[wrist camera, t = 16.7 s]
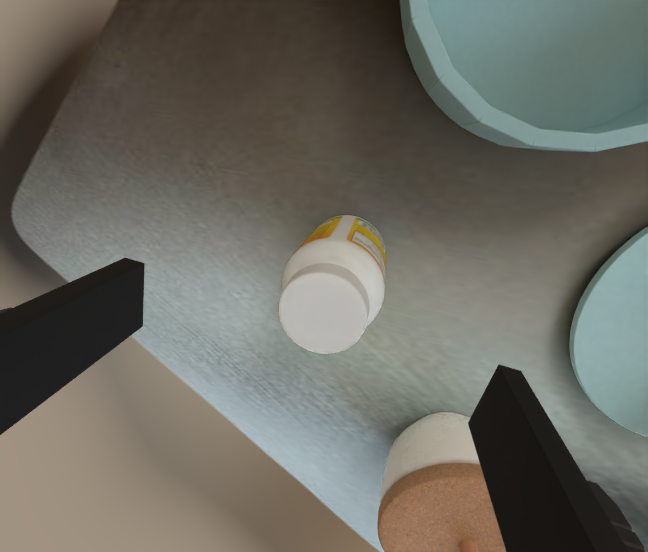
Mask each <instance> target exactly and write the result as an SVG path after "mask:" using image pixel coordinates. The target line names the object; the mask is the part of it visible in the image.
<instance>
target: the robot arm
mask: <svg viewBox="0 0 648 552" xmlns="http://www.w3.org/2000/svg"><path fill="white" fill-rule="evenodd" d="M143 296H144V263H142V262H138V261H135V260H131V259H128V258H124V259H121V260H119V261H117V262H115V263H112V264H110V265H108V266H106V267H103V268H101V269H99V270H97V271H94V272H92V273H90V274H88V275H86V276H83V277H81V278H79V279H77V280H74V281H72V282H70V283H68V284H66V285H63V286H61V287H59V288H57V289H54V290H52V291H50V292H48V293H45V294H43V295H41V296H39V297H37V298H34V299H32V300H30V301H28V302H25V303H23V304H21V305H19V306H16V307H15V308H7V309H3V310H0V435H1V434H2V433H4V432H5V431H6V430H7V429H9V428H10V427H11V426H13V425H14V424H15V423H17V422H18V421H19V420H21V419H22V418H23V417H24V416H26V415H27V414H28V413H30V412H31V411H32V410H34V409H35V408H36V407H37V406H39V405H40V404H41V403H43V402H44V401H45V400H47V399H48V398H49V397H51V396H52V395H53V394H55V393H56V392H57V391H59V390H60V389H61V388H62V387H64V386H65V385H66V384H68V383H69V382H70V381H72V380H73V379H74V378H76V377H77V376H78V375H79V374H81V373H82V372H83V371H85V370H86V369H87V368H89V367H90V366H91V365H92V364H94V363H95V362H96V361H98V360H99V359H100V358H102V357H103V356H104V355H106V354H107V353H108V352H110V351H111V350H112V349H114V348H115V347H116V346H117V345H119V344H120V343H121V342H123V341H124V340H125V339H127V338H128V337H129V336H131V335H132V334H133V333H134V332H136V331H137V330H138V329H140V328H141V327H142V326H143ZM468 425H469V429H470V432H471V435H472V439H473V442H474V445H475V449H476V452H477V456H478V459H479V462H480V466H481V469H482V472H483V476H484V479H485V482H486V486H487V489H488V492H489V496H490V499H491V502H492V506H493V509H494V512H495V516H496V519H497V522H498V526H499V529H500V532H501V536H502V539H503V542H504V546H505V549H506V552H645V551H644V546H643V545H642V543H641V542H640V540H639V539H638V537H637V535H636V534H635V533H634V532H632V531H631V529H632V528H631V526H630V525H629V523H628V521H627V520H626V518H625V517H624V515H623V514H622V512H621V511H620V509H619V507H618V506H617V505H616V503H615V502H614V501H613V500H612V499H611V498H610V497H609V496H608V495H607V494H606V493H605V492H604V491H603V490H602V489H601V488H600V486H599V485H598V484H597V483H594V482H590V481H587V480H586V479H585V477H584V476H583V474H582V472H581V471H580V469H579V467H578V466H577V464H576V462H575V461H574V459H573V457H572V456H571V454H570V452H569V451H568V449H567V447H566V446H565V444H564V442H563V441H562V439H561V437H560V436H559V434H558V432H557V431H556V429H555V427H554V426H553V424H552V422H551V421H550V419H549V417H548V416H547V414H546V412H545V411H544V409H543V407H542V406H541V404H540V402H539V401H538V399H537V397H536V396H535V394H534V392H533V390H532V389H531V387H530V385H529V384H528V382H527V380H526V379H525V377H524V375H523V374H522V372H521V371H519V370H516V369H512V368H509V367H505V366H502V365H498V367H497V369H496V371H495V373H494V374H493V376H492V378H491V380H490V382H489V384H488V386H487V388H486V390H485V392H484V393H483V395H482V397H481V399H480V401H479V403H478V405H477V407H476V409H475V411H474V412H473V414H472V416H471V418H470V420H469V422H468Z"/></svg>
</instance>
